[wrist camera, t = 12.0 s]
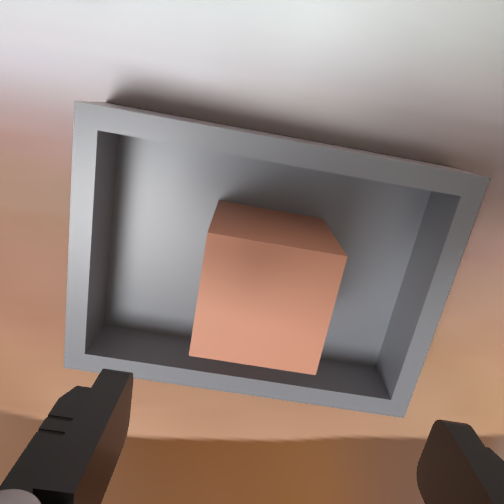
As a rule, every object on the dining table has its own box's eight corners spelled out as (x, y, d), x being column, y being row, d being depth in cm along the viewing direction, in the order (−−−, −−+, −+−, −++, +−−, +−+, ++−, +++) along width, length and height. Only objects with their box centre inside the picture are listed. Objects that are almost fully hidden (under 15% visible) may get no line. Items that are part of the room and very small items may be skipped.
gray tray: (451, 166, 22) (490, 177, 18) (382, 375, 26) (403, 418, 22) (105, 102, 21) (74, 101, 17) (90, 330, 25) (64, 367, 21)
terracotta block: (322, 218, 22) (347, 256, 16) (300, 311, 24) (315, 375, 18) (218, 200, 22) (207, 232, 16) (203, 295, 23) (188, 355, 18)
